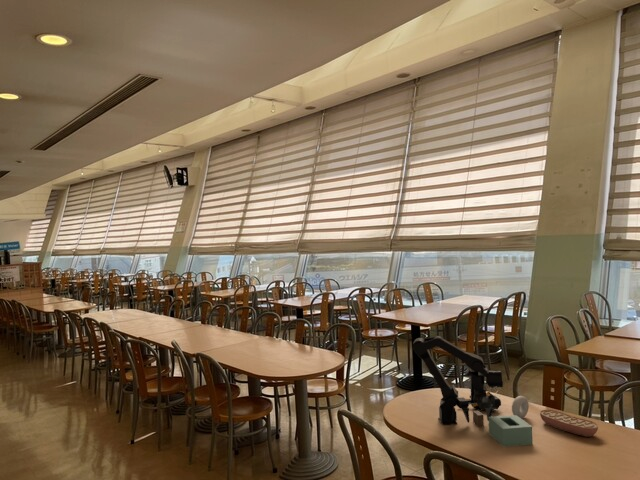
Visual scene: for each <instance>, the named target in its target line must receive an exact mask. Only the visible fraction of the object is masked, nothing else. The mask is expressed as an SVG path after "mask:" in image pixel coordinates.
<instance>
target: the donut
mask: <svg viewBox="0 0 640 480" xmlns="http://www.w3.org/2000/svg"><path fill="white" fill-rule="evenodd" d="M529 405H530V404H529V400H528V399H527V398H526V397H525V396H523V395H519V396H516V397H515V398H514V399H513V402H512V405H511V412H512V415H517V416H518V417H520V418H521V419H522V420H523V419H524V418H525V417H526V416H527V414H528V412H529V408H530V406H529Z"/></svg>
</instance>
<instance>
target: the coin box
mask: <svg viewBox="0 0 640 480" xmlns="http://www.w3.org/2000/svg"><path fill="white" fill-rule="evenodd" d="M488 435H489V436H490V437H492V438H493V439H494V440H495V441H496V442H497V443H498V444H500V445H501V446H502V447H503V448H504V447H517V446H529V445H530V446H531V445H534V444H533V425H530V424H529V423H528V422H527V421H525V420H523V418H522V419H521V418H520V417H518V416H517V415H513V414H512V415H497V416H496V415H495V416H491V417H489V421H488Z"/></svg>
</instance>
